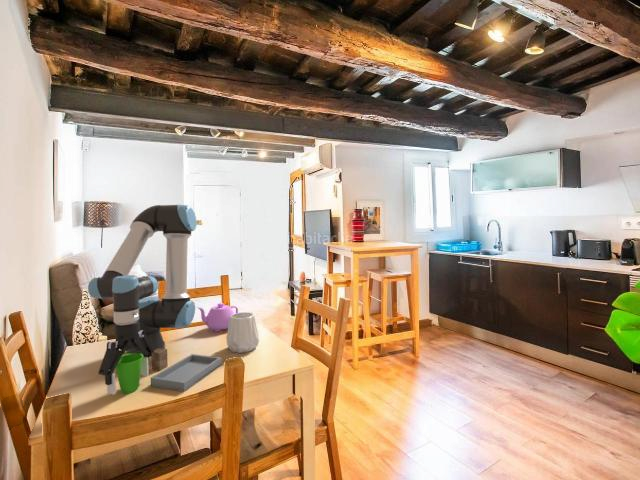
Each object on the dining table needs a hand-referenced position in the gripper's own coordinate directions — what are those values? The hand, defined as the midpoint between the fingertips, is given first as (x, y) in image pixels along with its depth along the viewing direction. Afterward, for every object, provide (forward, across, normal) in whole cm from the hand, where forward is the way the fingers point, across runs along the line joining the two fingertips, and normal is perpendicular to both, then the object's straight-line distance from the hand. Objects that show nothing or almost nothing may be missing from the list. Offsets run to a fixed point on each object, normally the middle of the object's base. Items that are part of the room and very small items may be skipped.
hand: (129, 383), depth 115 cm
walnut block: (+2, +17, +3) cm, 18 cm away
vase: (+2, +44, -18) cm, 48 cm away
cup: (+2, 0, 0) cm, 2 cm away
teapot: (+2, +65, +8) cm, 66 cm away
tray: (+2, +15, -12) cm, 19 cm away
